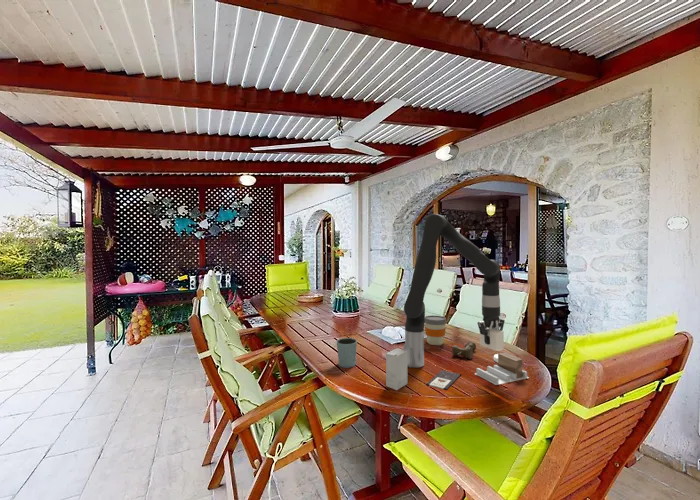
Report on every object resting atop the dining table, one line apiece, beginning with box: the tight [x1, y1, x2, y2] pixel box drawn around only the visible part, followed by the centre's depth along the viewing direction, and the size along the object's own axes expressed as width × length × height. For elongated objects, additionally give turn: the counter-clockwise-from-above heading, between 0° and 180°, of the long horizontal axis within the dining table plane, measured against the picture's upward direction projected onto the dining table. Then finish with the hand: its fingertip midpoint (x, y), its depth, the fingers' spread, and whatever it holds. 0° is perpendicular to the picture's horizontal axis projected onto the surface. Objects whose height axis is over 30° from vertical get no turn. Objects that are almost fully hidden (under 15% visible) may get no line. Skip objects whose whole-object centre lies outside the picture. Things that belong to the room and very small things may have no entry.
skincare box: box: [385, 347, 408, 391], centre depth 149 cm, size 8×6×15 cm
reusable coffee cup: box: [424, 315, 447, 346], centre depth 207 cm, size 12×13×15 cm
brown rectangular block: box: [497, 352, 523, 379], centre depth 158 cm, size 4×10×8 cm, turn 22°
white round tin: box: [493, 353, 499, 364], centre depth 173 cm, size 10×10×4 cm
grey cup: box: [336, 337, 358, 369], centre depth 173 cm, size 10×10×12 cm
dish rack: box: [474, 364, 530, 386], centre depth 156 cm, size 19×13×4 cm
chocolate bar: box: [426, 369, 462, 391], centre depth 154 cm, size 9×1×18 cm
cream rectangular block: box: [479, 328, 505, 352], centre depth 155 cm, size 4×10×8 cm, turn 23°
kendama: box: [451, 341, 477, 360], centre depth 186 cm, size 6×10×20 cm
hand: (491, 343), depth 155 cm, fingers closed on cream rectangular block, 4 cm apart
